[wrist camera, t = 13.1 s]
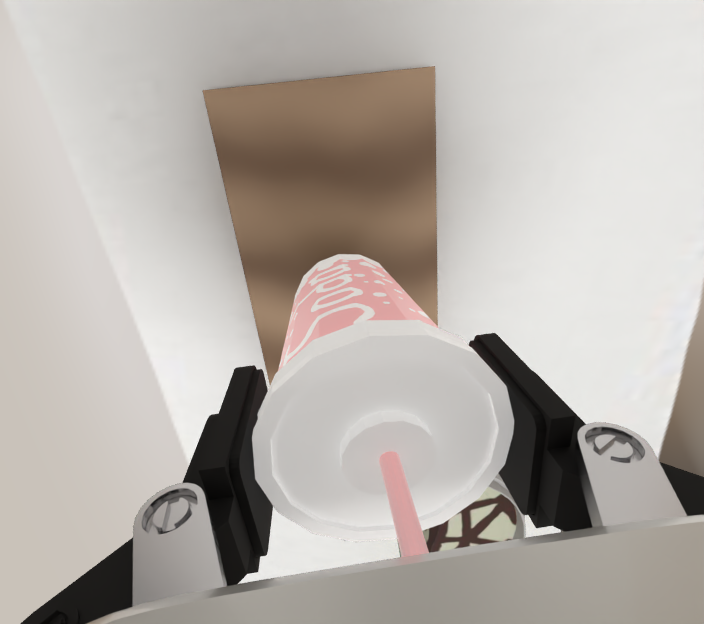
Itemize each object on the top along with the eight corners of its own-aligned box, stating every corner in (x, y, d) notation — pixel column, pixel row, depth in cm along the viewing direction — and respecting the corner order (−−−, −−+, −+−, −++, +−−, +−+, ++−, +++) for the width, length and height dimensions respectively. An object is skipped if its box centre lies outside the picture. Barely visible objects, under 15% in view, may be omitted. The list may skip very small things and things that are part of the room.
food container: (447, 492, 35) (494, 615, 26) (382, 487, 34) (407, 614, 25) (491, 379, 30) (568, 481, 21) (417, 370, 29) (464, 473, 20)
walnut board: (209, 94, 21) (202, 90, 19) (427, 71, 21) (434, 66, 20) (277, 395, 29) (275, 407, 27) (432, 373, 29) (438, 384, 28)
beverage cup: (407, 223, 16) (844, 550, 3) (419, 349, 18) (684, 819, 6) (261, 249, 16) (66, 730, 3) (293, 374, 18) (269, 925, 5)
